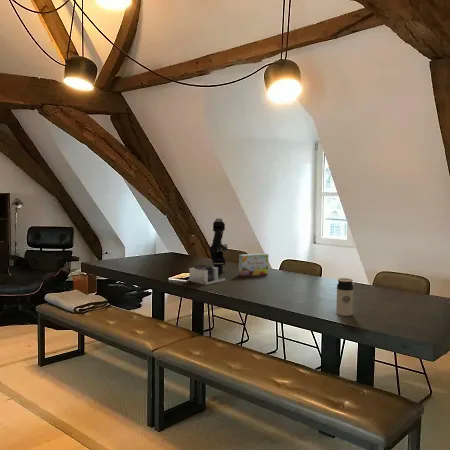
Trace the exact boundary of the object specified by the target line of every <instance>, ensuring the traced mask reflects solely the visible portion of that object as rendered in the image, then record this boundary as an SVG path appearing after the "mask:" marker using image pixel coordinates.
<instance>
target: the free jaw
mask: <svg viewBox="0 0 450 450" xmlns="http://www.w3.org/2000/svg"><path fill="white" fill-rule="evenodd" d="M218 279H219V274H218V268H216V267H214V266H213V268H212V281H213V280H218Z"/></svg>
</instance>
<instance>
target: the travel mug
mask: <svg viewBox="0 0 450 450" xmlns="http://www.w3.org/2000/svg"><path fill="white" fill-rule="evenodd" d="M337 281H338V283H337V285H336V314H337V315H338V316H342V317H349V316H352V315H353V309H354V308H353V305H354V304H353V303H354V302H353V301H354V285H353V281H354V280H353V279H352V278H348V277H347V278H346V277H340V278H337Z"/></svg>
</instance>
